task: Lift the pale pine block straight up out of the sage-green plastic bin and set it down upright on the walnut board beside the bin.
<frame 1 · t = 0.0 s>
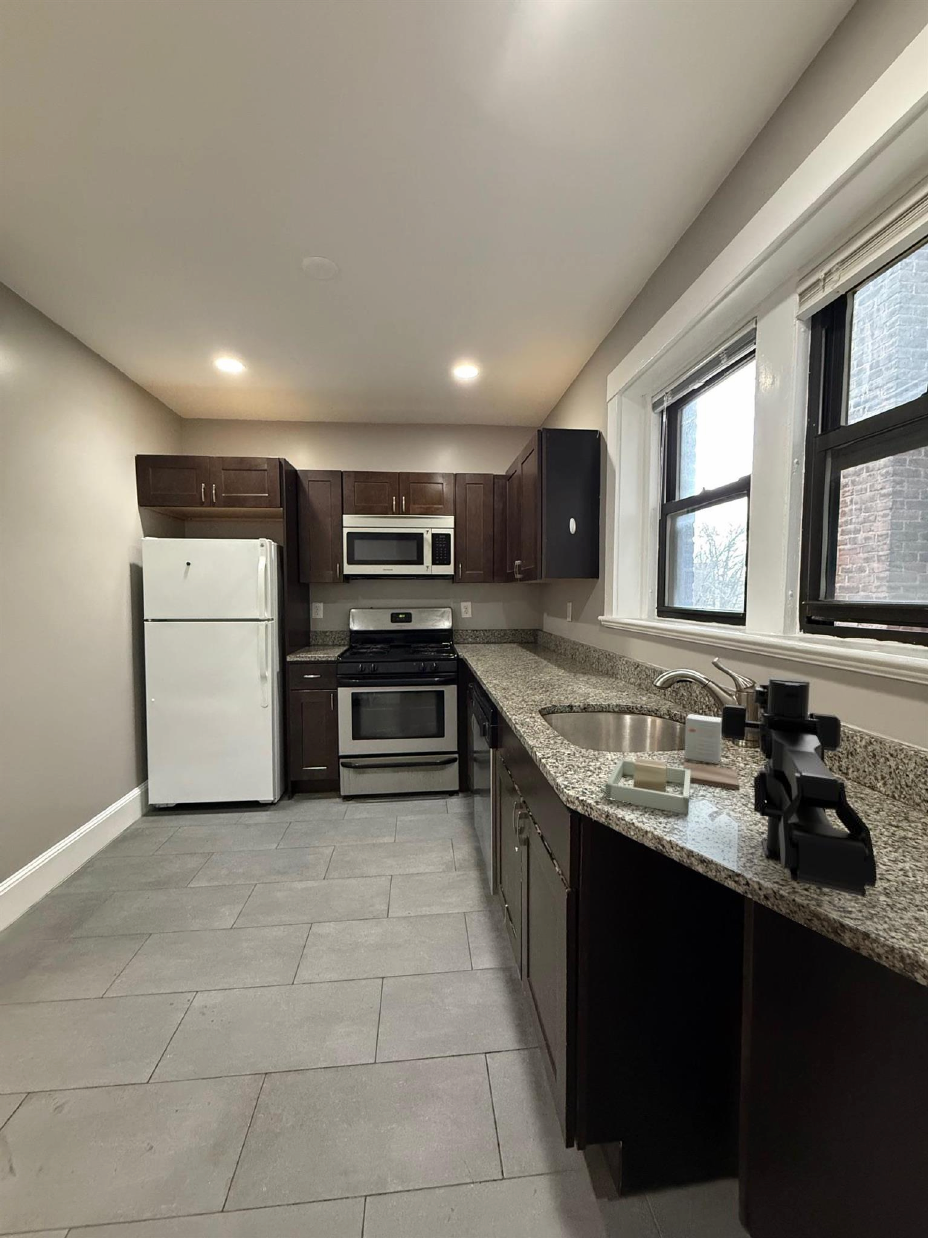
hand: (772, 717, 101), 17 cm above the countertop, tool horizontal, fingers open, 9 cm apart
pine block: (649, 791, 105), resting in sage bin
small box: (702, 759, 128), on the countertop
walnut board: (710, 777, 114), on the countertop
sage bin: (649, 790, 105), on the countertop
medicine box: (787, 774, 118), on the countertop
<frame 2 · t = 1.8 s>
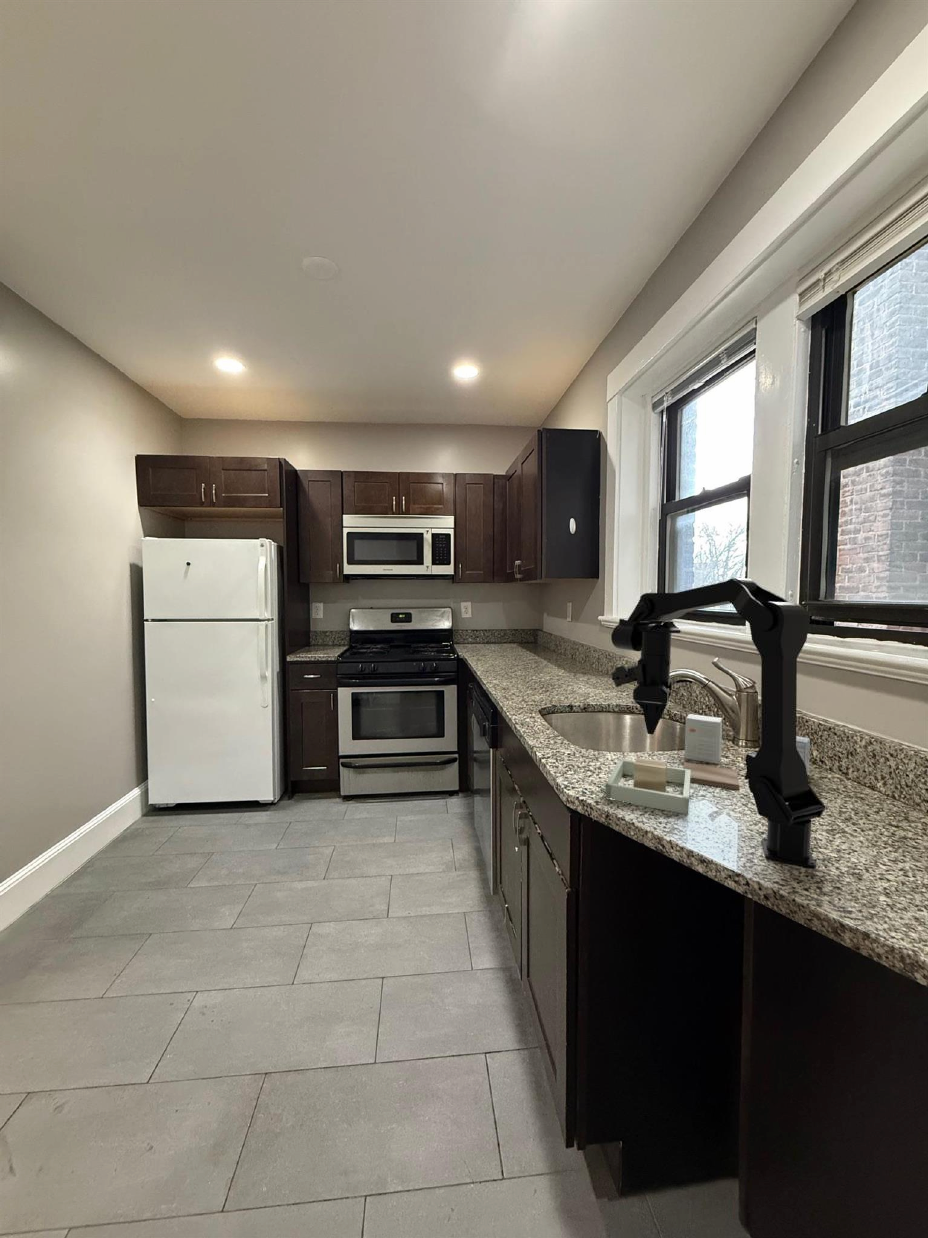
hand: (652, 729, 104), 13 cm above the countertop, tool pointing down, fingers open, 9 cm apart
nothing on the countertop moved.
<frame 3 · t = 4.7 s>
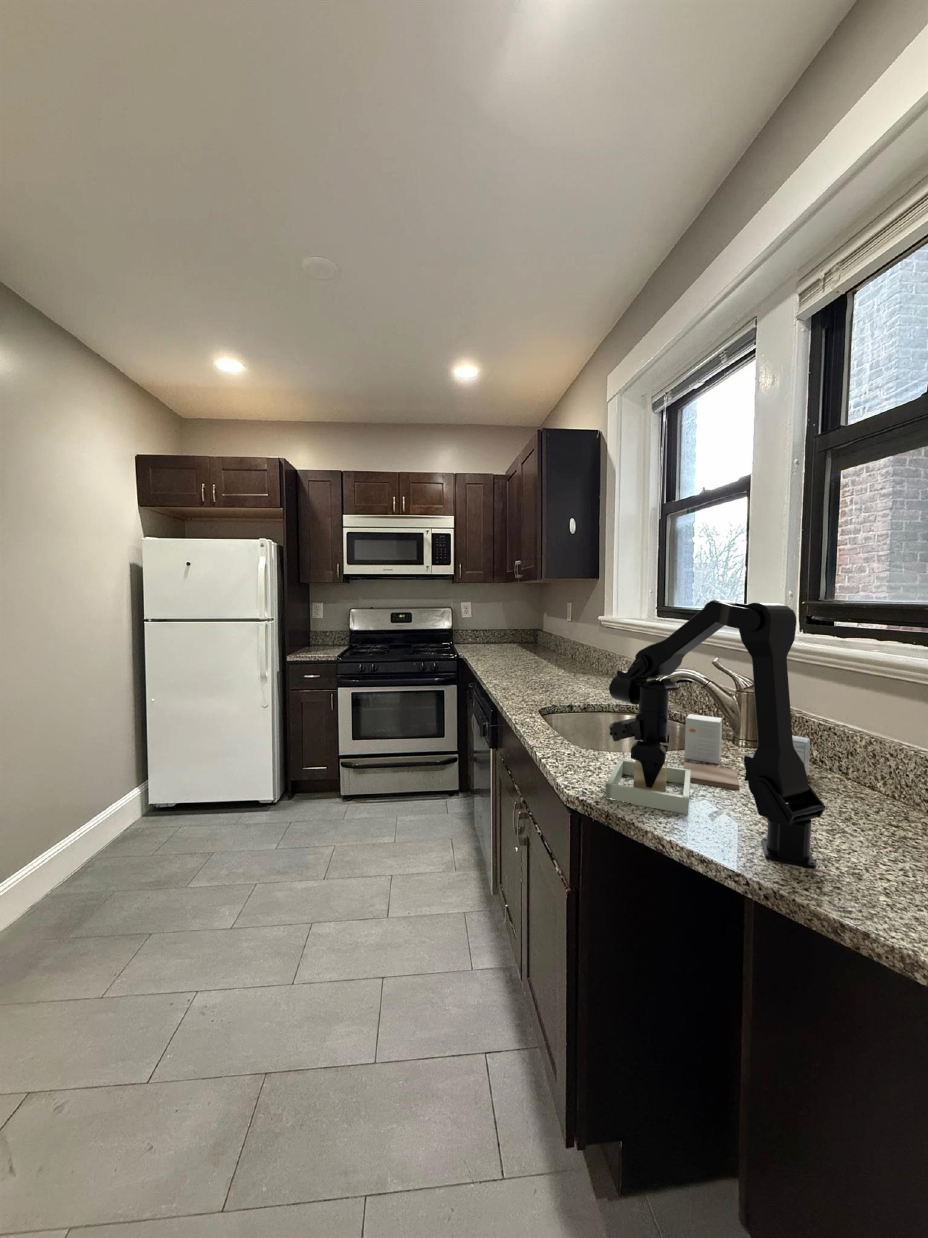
hand: (650, 783, 105), 2 cm above the countertop, tool pointing down, fingers closed on pine block, 4 cm apart
pine block: (649, 791, 105), resting in sage bin, touching gripper
everything else where it was.
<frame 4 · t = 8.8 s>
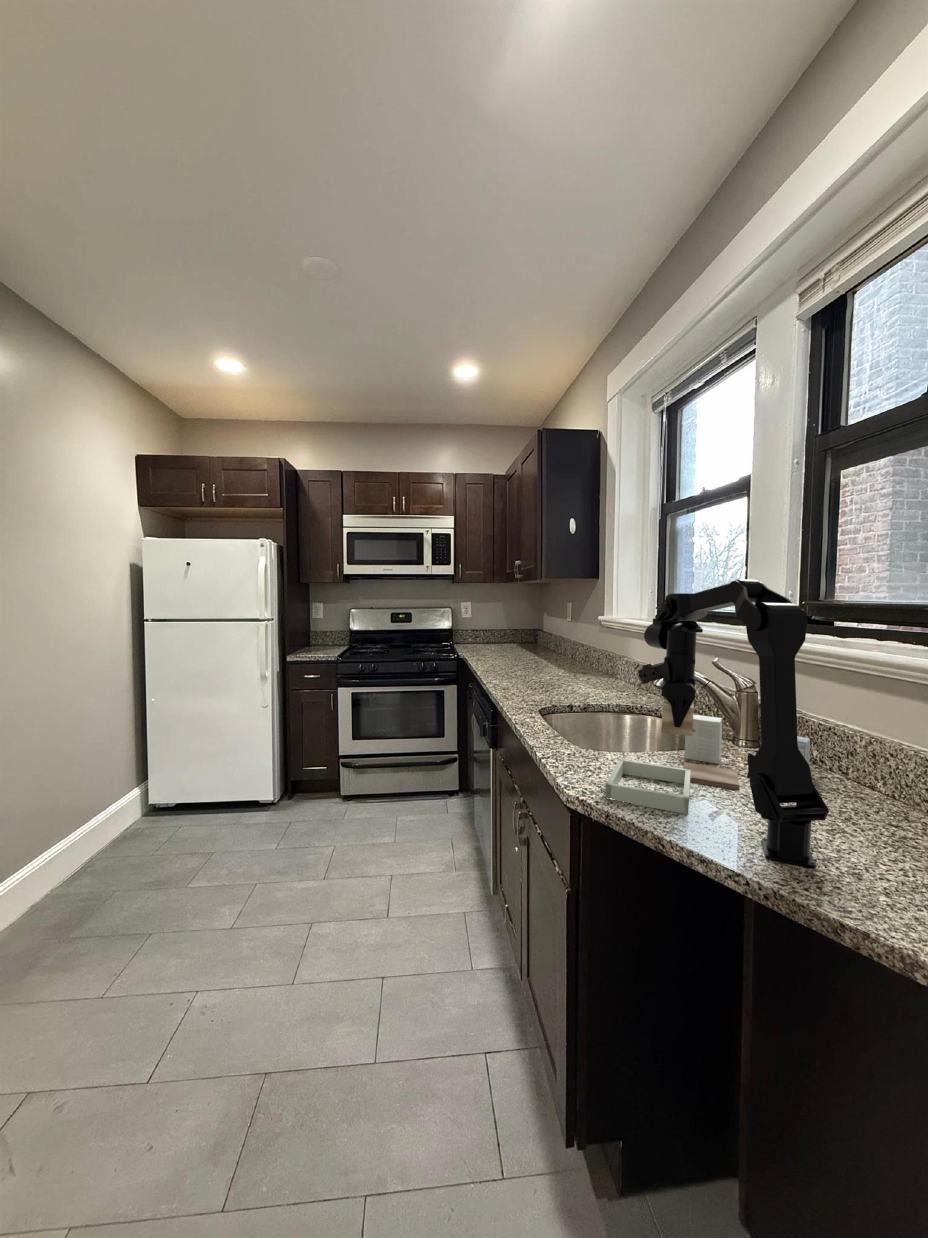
hand: (677, 724, 108), 13 cm above the countertop, tool pointing down, fingers closed on pine block, 4 cm apart
pine block: (677, 731, 108), point 12 cm above the countertop, touching gripper
everything else where it was.
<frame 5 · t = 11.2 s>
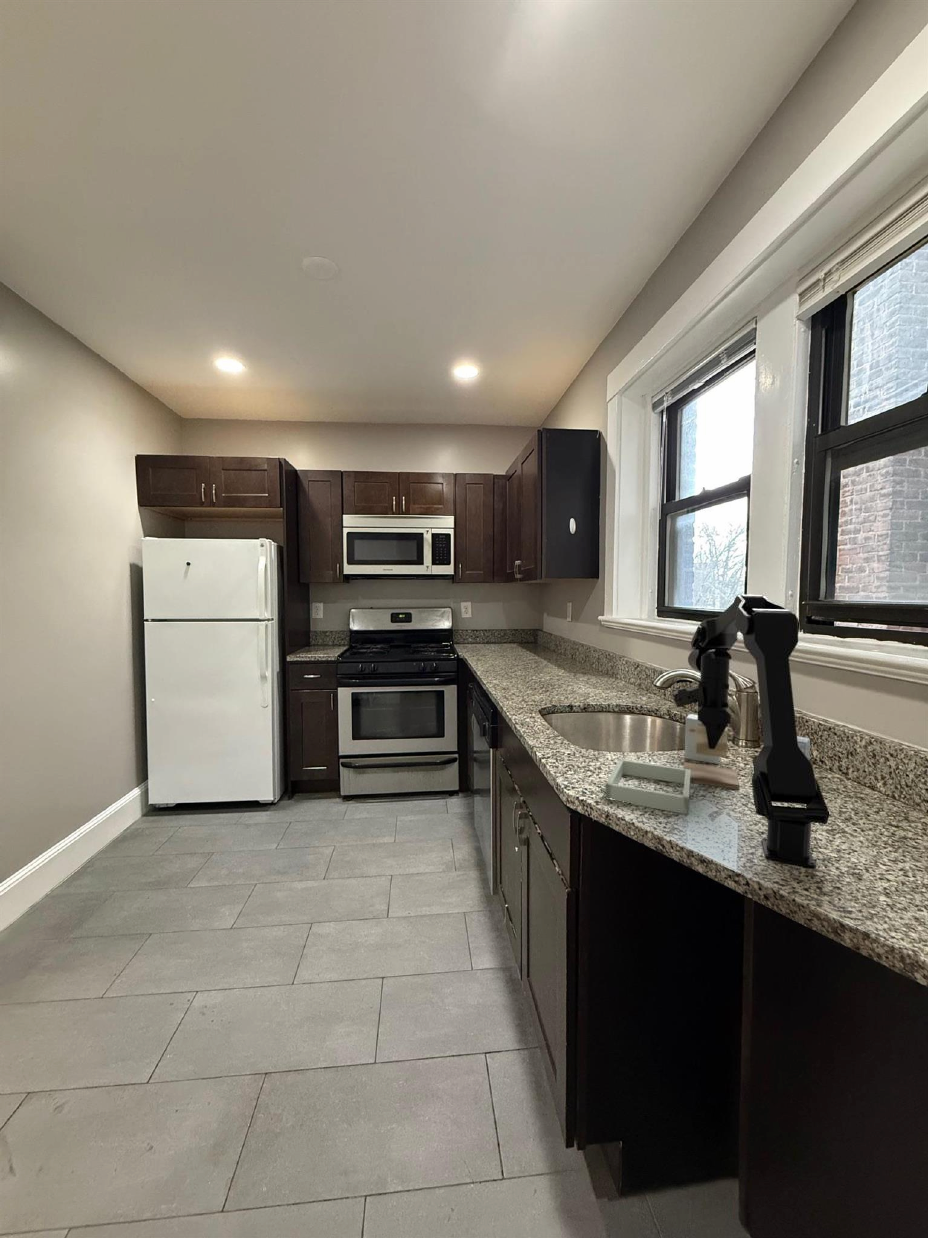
hand: (711, 746, 114), 7 cm above the countertop, tool pointing down, fingers closed on pine block, 4 cm apart
pine block: (710, 752, 114), point 6 cm above the countertop, touching gripper
everything else where it was.
when the fingers open (4 cm above the countertop, at t = 13.0 s): pine block drops 1 cm, resting on walnut board.
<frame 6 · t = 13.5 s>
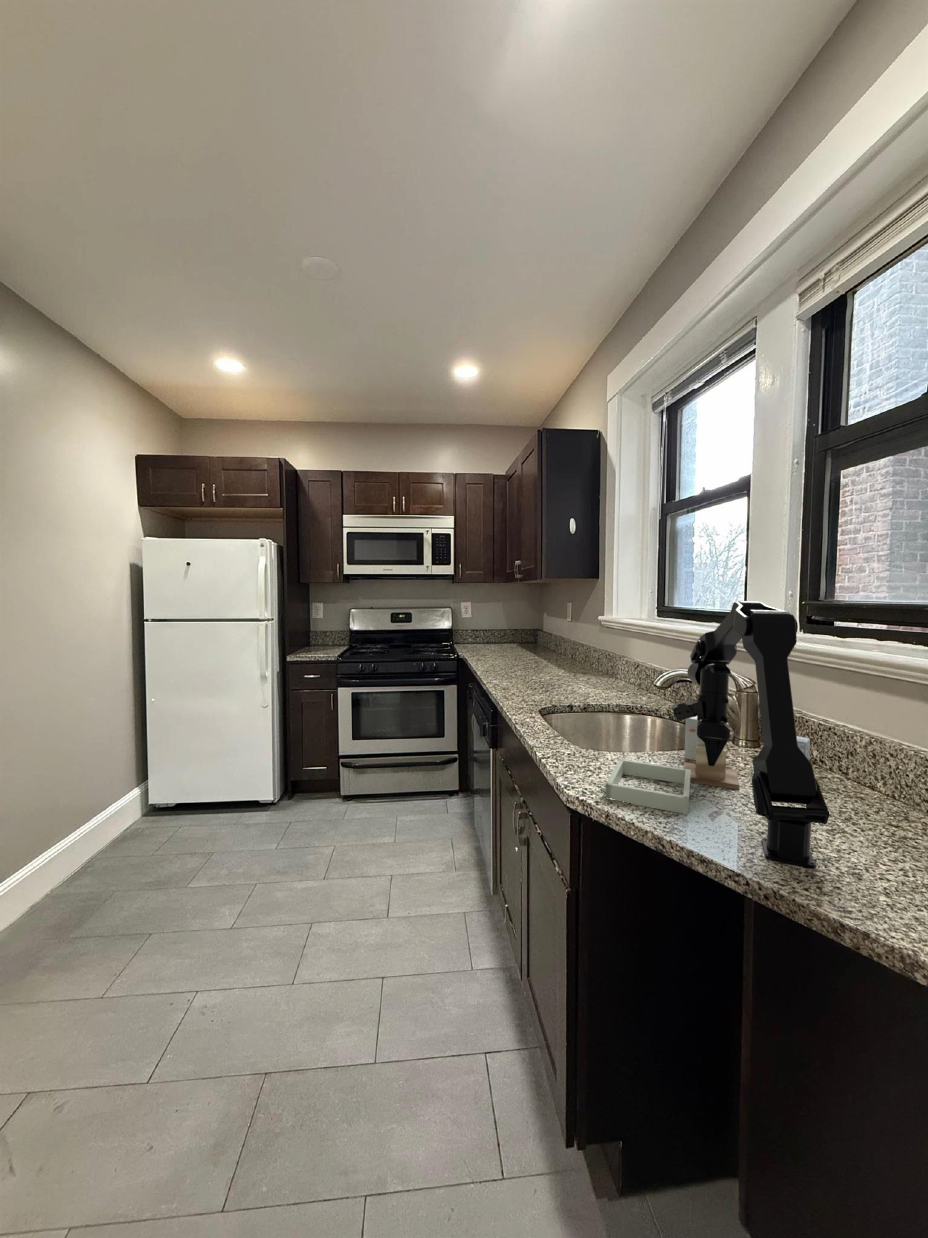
hand: (710, 760, 114), 4 cm above the countertop, tool pointing down, fingers open, 9 cm apart
pine block: (709, 773, 114), point 1 cm above the countertop, touching walnut board
everything else where it was.
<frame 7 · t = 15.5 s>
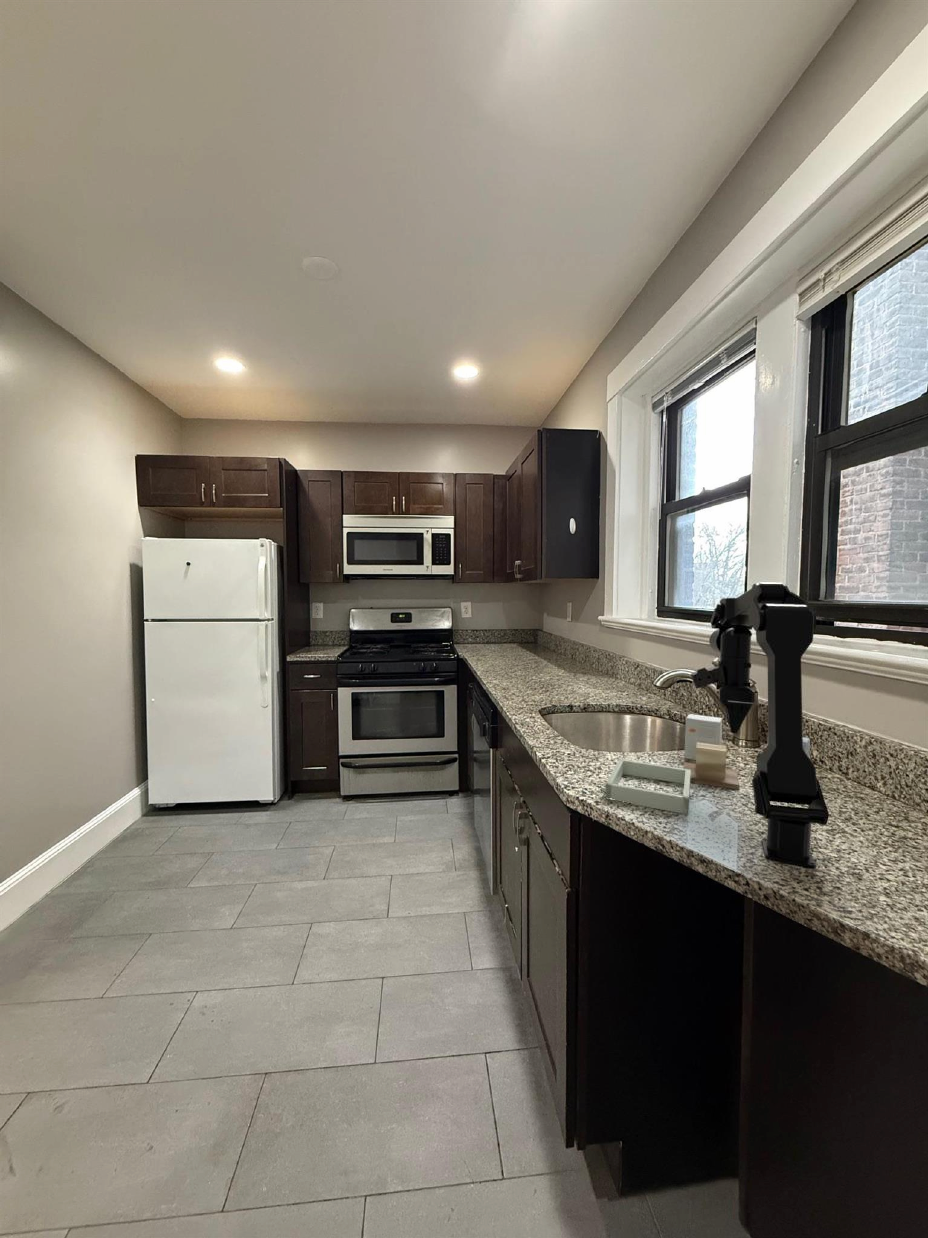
hand: (732, 728, 109), 12 cm above the countertop, tool pointing down, fingers open, 9 cm apart
nothing on the countertop moved.
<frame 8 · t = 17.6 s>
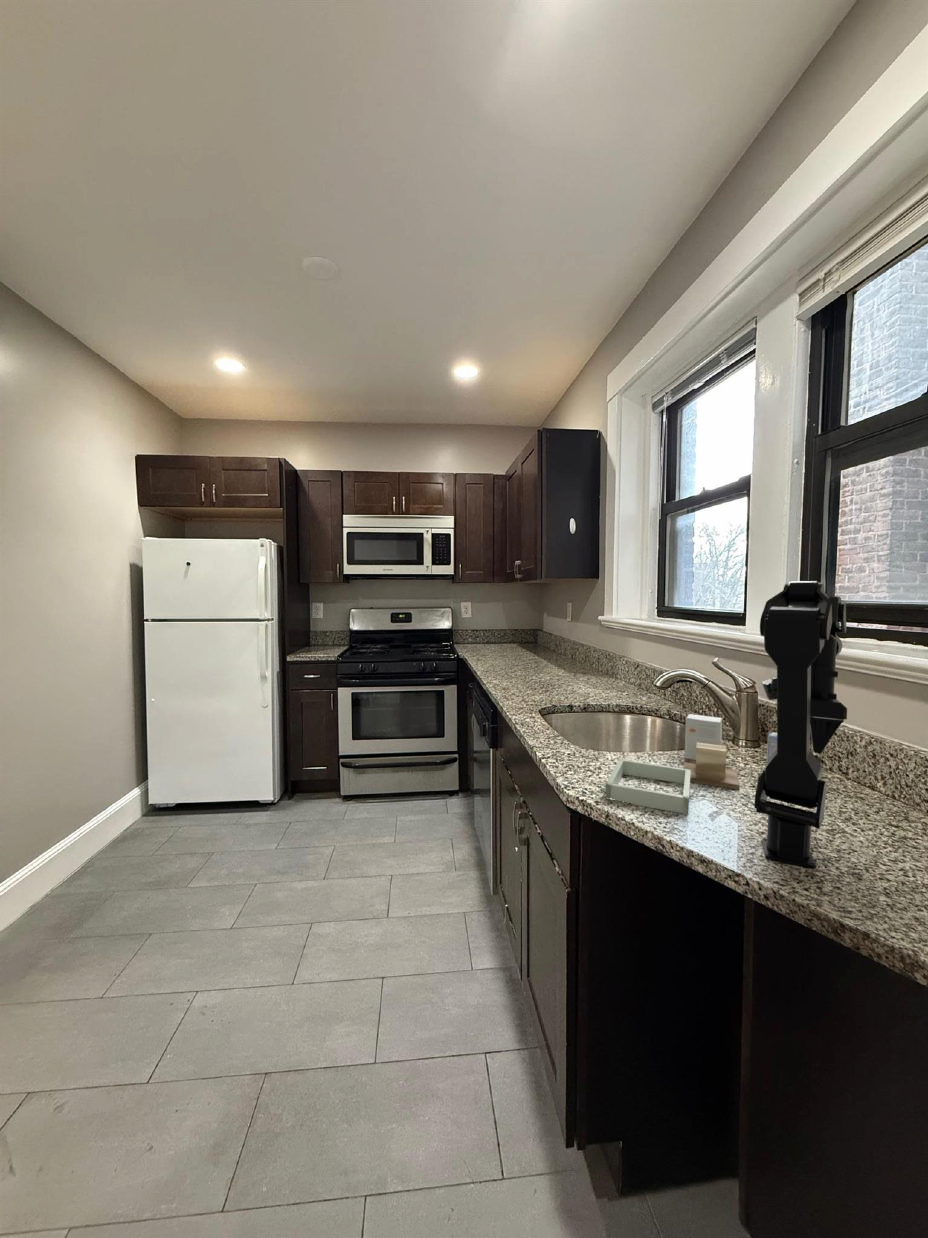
hand: (812, 746, 94), 13 cm above the countertop, tool pointing down, fingers open, 9 cm apart
nothing on the countertop moved.
at the end: pine block 0.1 cm off-centre on the walnut board, point 1.0 cm above the walnut board's base; pine block tilted 0°; the gripper is holding nothing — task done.
